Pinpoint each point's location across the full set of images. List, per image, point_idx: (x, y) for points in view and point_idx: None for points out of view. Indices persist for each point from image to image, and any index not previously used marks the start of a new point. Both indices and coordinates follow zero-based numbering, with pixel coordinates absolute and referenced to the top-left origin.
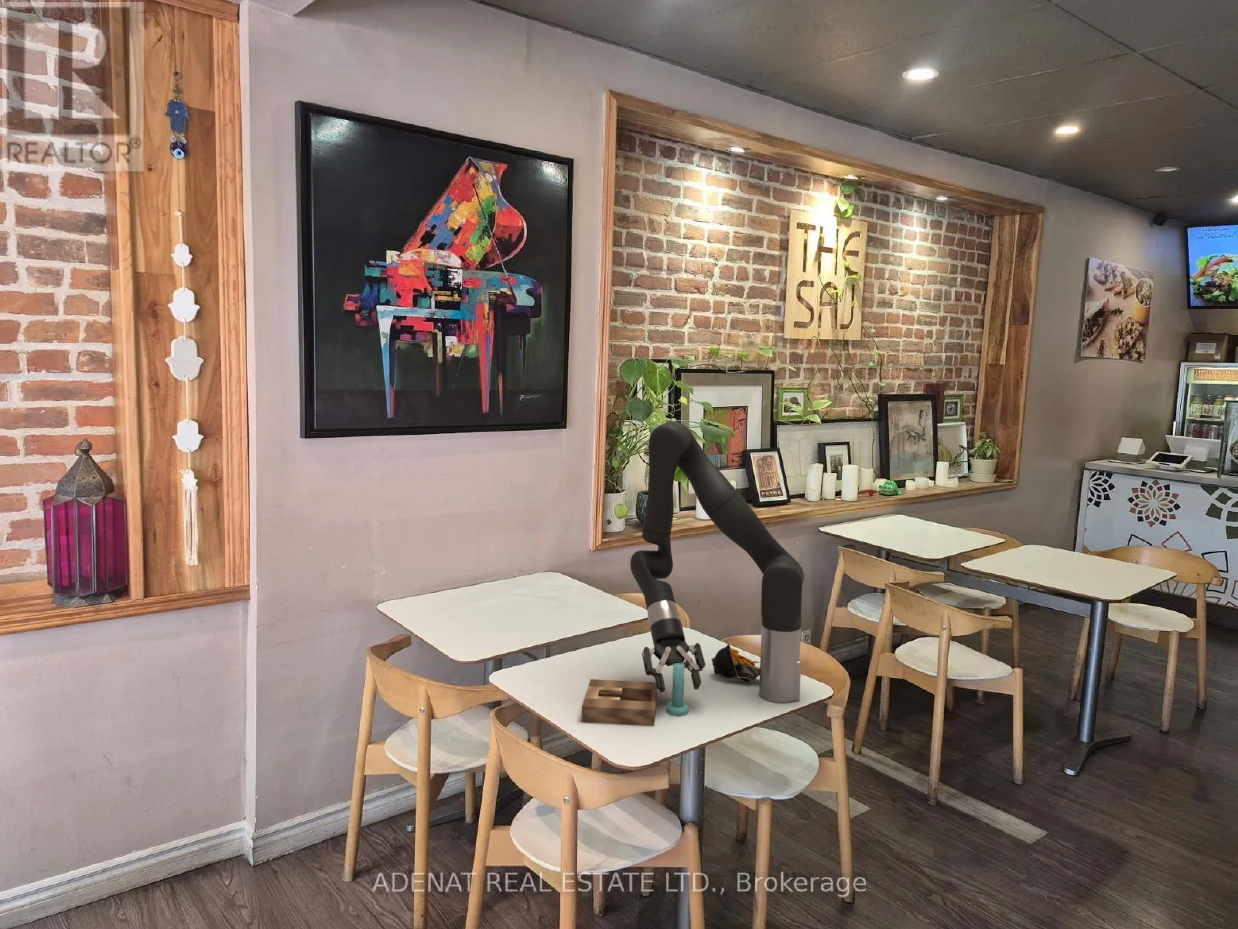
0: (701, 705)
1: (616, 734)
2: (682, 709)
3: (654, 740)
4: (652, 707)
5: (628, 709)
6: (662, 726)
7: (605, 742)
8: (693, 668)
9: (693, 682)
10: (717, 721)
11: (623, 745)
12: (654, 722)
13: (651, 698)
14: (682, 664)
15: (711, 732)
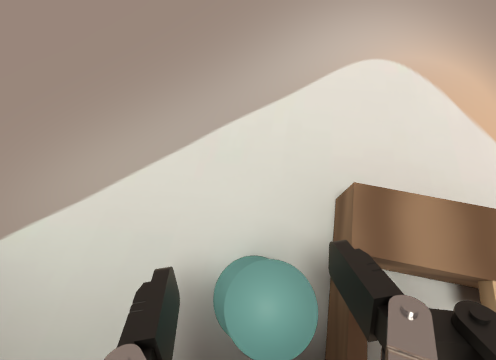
0: None
1: (433, 159)
2: (244, 257)
3: (336, 124)
4: (361, 203)
5: (442, 199)
6: (312, 193)
7: (452, 124)
8: (145, 358)
9: (174, 318)
10: (146, 212)
11: (407, 109)
12: (336, 211)
13: None
14: (238, 320)
15: (187, 150)
